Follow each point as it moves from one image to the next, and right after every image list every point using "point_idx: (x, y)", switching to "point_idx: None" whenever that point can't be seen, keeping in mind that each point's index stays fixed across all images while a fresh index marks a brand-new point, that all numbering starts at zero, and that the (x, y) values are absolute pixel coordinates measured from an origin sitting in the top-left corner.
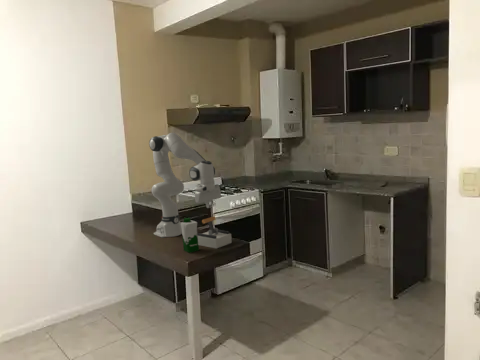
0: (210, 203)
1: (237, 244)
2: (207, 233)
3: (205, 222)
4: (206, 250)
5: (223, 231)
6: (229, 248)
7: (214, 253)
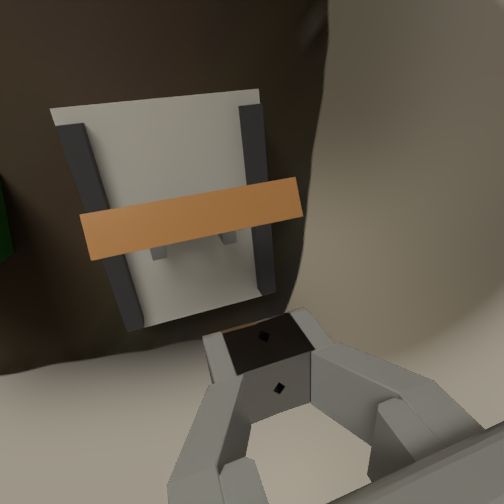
0: (338, 406)
1: (250, 310)
2: (174, 146)
3: (116, 255)
4: (59, 286)
5: (258, 256)
6: (182, 338)
7: (70, 359)
